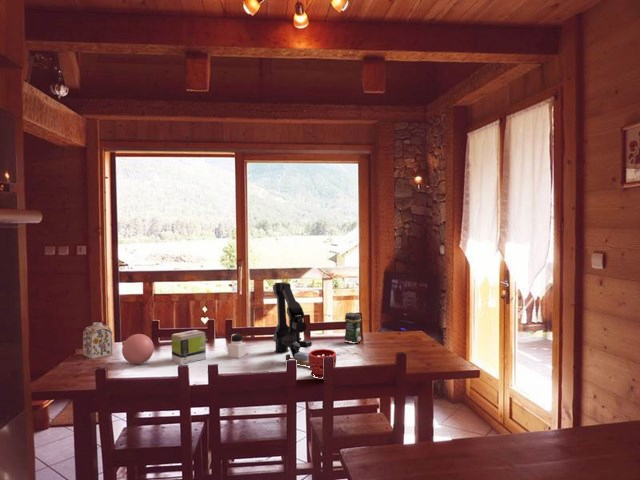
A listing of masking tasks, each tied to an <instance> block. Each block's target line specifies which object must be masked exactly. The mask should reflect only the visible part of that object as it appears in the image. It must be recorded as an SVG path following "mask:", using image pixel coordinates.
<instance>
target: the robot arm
mask: <svg viewBox="0 0 640 480" xmlns="http://www.w3.org/2000/svg"><path fill="white" fill-rule="evenodd" d="M272 291H273V295H274V296H275V298H276V304H277V305H276V309H277V325H276V327H275V331H274V334H273V336H272V340H273V342H274V343H275V350H273V353H278V354H284V353H288V352H289V351H290V352H291V356H292V358H294V354H295V353H298V351H300V349H301V348H305V349H307V348H309V347H312V344H313V343H312V341H311V340H309V339H304V340H302V338H301V335H300V334H301V333H304V332H306V329H307V324H306V322H305V321H304V319H305V313H304V309H303V307H302V306H301V304H300V303H299V302H298V301H297V300H296V298H295V296H294V294H293V290H292V289H291V283H289V282H287V283H286V282H274V284H273V285H272ZM286 305H287V307H286ZM287 317H288V323H287Z"/></svg>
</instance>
